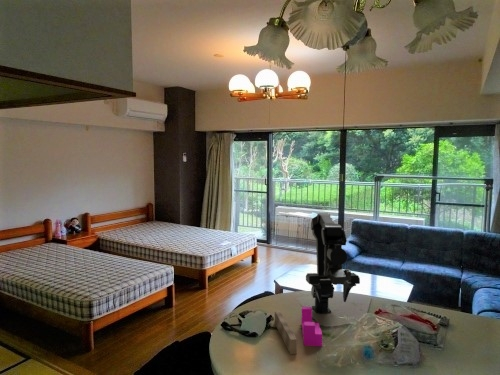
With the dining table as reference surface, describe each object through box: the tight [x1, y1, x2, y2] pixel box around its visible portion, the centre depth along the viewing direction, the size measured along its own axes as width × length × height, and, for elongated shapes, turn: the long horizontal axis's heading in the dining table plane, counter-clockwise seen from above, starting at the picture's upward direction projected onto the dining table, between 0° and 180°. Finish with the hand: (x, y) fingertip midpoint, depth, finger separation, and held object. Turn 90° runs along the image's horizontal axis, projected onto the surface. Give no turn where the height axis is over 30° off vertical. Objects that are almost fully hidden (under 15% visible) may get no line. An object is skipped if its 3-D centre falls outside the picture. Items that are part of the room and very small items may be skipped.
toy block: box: [301, 306, 323, 347], centre depth 125 cm, size 15×6×8 cm, turn 175°
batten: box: [274, 310, 298, 355], centre depth 123 cm, size 22×2×5 cm, turn 10°
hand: (332, 301), depth 124 cm, fingers open, 9 cm apart
